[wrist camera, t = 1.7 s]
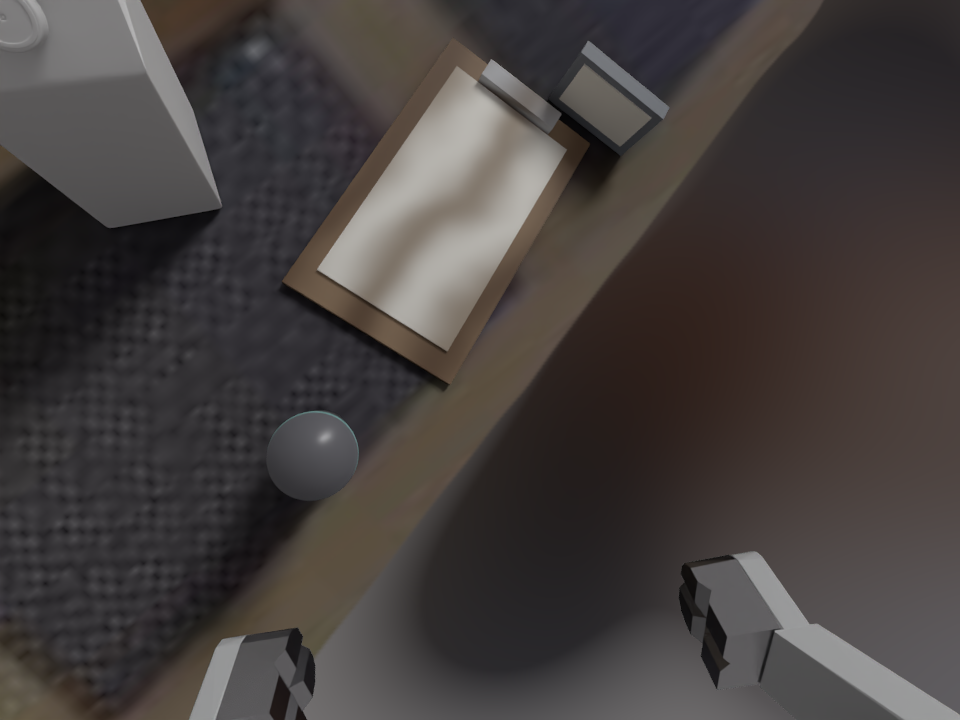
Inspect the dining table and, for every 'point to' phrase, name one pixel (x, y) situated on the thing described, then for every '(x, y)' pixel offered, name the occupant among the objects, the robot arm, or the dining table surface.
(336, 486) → the microphone
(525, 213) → the clipboard
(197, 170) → the milk carton
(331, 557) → the dining table surface
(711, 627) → the robot arm
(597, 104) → the picture frame
